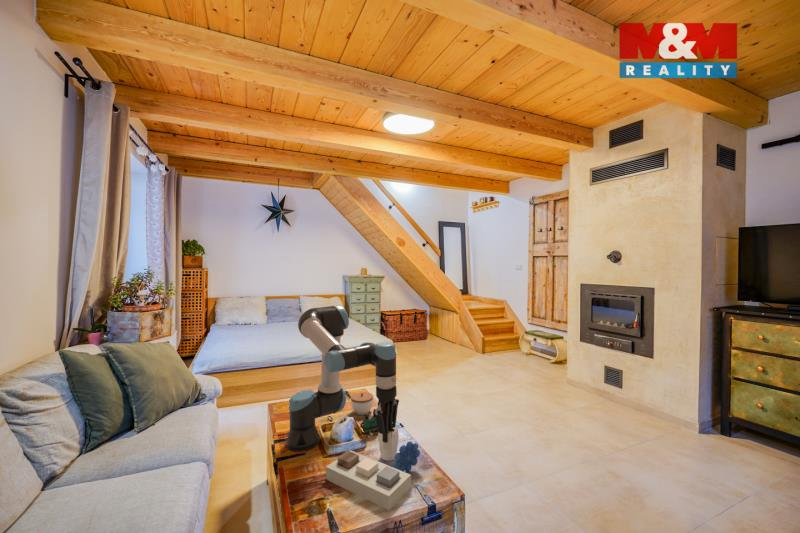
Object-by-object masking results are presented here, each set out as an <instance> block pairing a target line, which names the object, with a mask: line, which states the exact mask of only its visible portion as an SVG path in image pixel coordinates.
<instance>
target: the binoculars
mask: <svg viewBox="0 0 800 533" xmlns="http://www.w3.org/2000/svg"><path fill="white" fill-rule="evenodd" d="M363 416H364V417H363V420H362V422H361V423H360V425H359V427H360V428H361V430H362V429H363V431H364V432H365V433H364V436H365V435H366V436H367V437H366V438H369V437H368V436H370V437H371V432H373V435H375V436H378V435H377V434H378V428H377V423H376V417H375V414H374V413H373V412H372V416H371V417H369V416H370V415H369V413H367V414H364V415H363Z"/></svg>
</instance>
